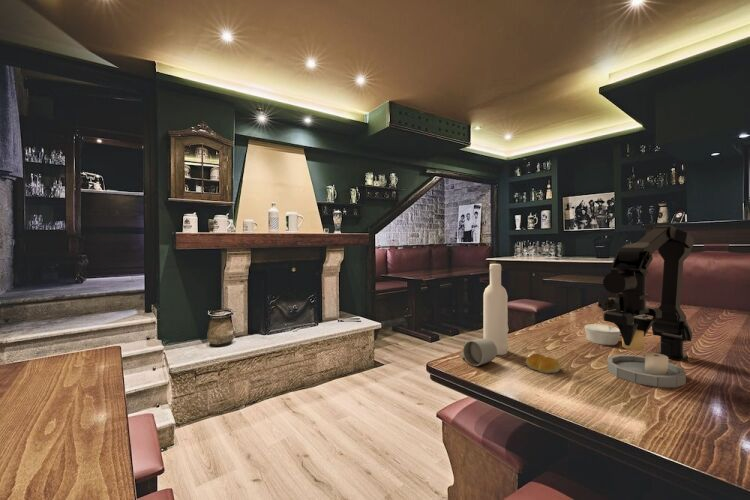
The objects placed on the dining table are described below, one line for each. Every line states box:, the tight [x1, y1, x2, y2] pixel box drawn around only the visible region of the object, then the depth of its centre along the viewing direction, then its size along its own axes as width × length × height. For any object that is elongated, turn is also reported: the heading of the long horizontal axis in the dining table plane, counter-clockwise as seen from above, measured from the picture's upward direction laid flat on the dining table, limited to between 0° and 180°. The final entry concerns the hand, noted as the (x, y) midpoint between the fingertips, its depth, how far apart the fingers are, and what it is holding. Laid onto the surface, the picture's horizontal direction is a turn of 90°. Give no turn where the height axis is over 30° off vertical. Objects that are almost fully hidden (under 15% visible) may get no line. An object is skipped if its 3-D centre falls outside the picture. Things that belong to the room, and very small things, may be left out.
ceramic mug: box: [460, 338, 498, 367], centre depth 110 cm, size 11×8×8 cm
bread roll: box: [525, 353, 561, 374], centre depth 104 cm, size 8×9×4 cm
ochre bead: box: [621, 329, 645, 351], centre depth 100 cm, size 5×5×5 cm
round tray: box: [606, 354, 687, 388], centre depth 98 cm, size 17×17×3 cm
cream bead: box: [644, 352, 669, 376], centre depth 95 cm, size 5×5×5 cm
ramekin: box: [584, 323, 621, 346], centre depth 129 cm, size 11×11×5 cm
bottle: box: [482, 263, 509, 356], centre depth 118 cm, size 8×8×30 cm
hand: (632, 344), depth 101 cm, fingers closed on ochre bead, 5 cm apart
